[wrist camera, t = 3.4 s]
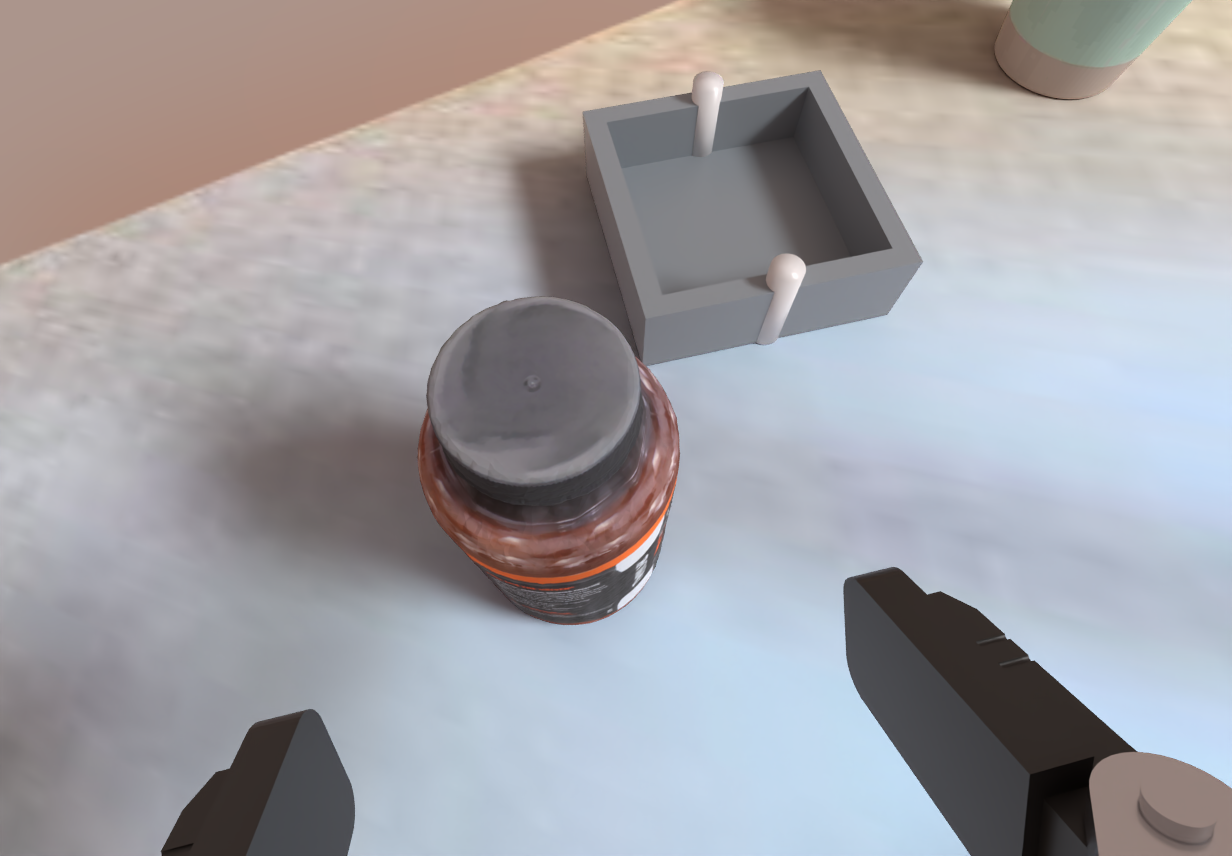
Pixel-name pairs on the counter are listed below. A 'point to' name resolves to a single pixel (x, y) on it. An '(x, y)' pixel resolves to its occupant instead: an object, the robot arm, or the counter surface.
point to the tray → (742, 215)
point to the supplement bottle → (550, 457)
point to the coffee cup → (1078, 42)
